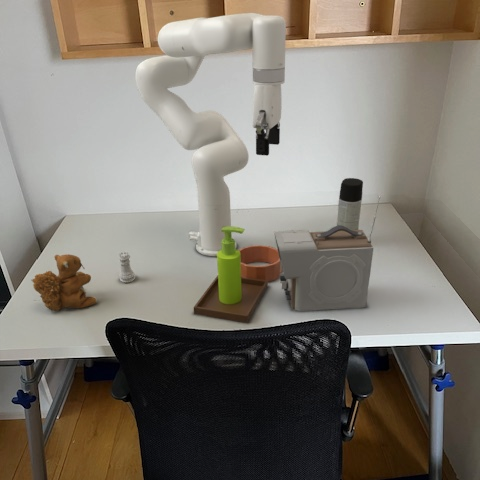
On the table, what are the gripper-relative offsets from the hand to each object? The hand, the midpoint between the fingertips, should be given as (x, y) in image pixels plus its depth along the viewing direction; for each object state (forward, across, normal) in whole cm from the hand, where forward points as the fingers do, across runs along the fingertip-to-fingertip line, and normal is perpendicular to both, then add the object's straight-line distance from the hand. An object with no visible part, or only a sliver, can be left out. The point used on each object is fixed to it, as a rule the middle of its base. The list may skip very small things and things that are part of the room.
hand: (268, 149), depth 136 cm
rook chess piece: (+34, +17, -36) cm, 53 cm away
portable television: (+34, +13, +18) cm, 41 cm away
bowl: (+34, +2, -2) cm, 34 cm away
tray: (+34, +19, -4) cm, 39 cm away
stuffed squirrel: (+34, +33, -45) cm, 66 cm away
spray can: (+34, -23, +19) cm, 46 cm away
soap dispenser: (+34, +19, -4) cm, 39 cm away
